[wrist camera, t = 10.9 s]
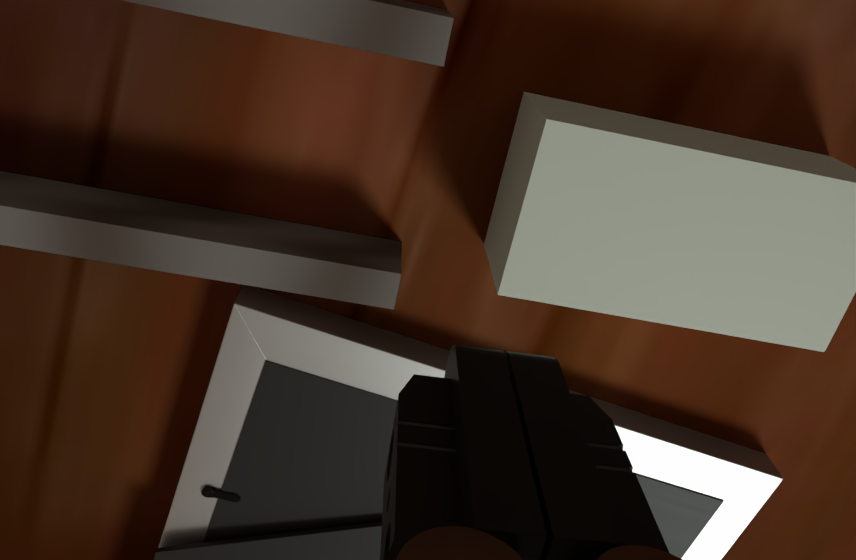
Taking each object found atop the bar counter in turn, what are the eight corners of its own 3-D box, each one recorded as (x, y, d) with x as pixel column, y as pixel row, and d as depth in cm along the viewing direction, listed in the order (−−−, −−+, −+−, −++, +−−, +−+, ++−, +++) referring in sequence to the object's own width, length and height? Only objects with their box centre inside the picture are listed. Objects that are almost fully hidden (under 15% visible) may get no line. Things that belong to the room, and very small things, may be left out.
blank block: (825, 153, 22) (906, 193, 19) (761, 292, 24) (824, 352, 21) (522, 89, 21) (546, 118, 17) (483, 240, 23) (497, 294, 20)
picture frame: (150, 584, 30) (579, 686, 34) (126, 643, 28) (593, 747, 31) (247, 274, 24) (758, 442, 28) (228, 313, 21) (794, 493, 25)
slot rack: (448, 10, 20) (453, 18, 17) (395, 274, 23) (394, 309, 21) (-159, -121, 18) (-240, -131, 16) (-118, 187, 21) (-179, 214, 19)
